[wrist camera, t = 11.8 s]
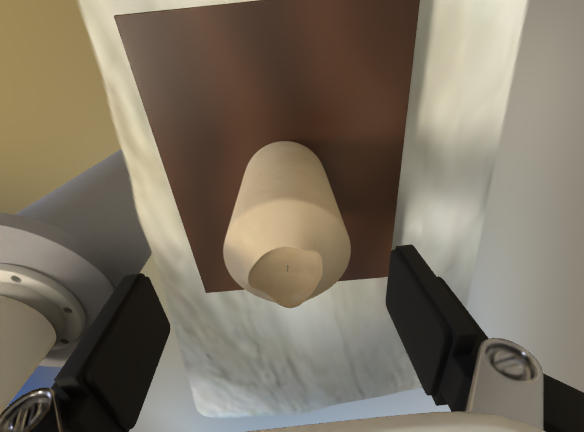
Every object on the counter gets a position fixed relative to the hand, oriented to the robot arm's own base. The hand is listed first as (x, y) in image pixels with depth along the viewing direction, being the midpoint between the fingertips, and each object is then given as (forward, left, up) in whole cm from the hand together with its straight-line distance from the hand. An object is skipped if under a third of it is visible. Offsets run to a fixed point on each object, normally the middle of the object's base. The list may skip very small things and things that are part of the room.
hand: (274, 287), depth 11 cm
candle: (+1, 0, -10) cm, 10 cm away
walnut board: (+1, 0, -12) cm, 12 cm away
